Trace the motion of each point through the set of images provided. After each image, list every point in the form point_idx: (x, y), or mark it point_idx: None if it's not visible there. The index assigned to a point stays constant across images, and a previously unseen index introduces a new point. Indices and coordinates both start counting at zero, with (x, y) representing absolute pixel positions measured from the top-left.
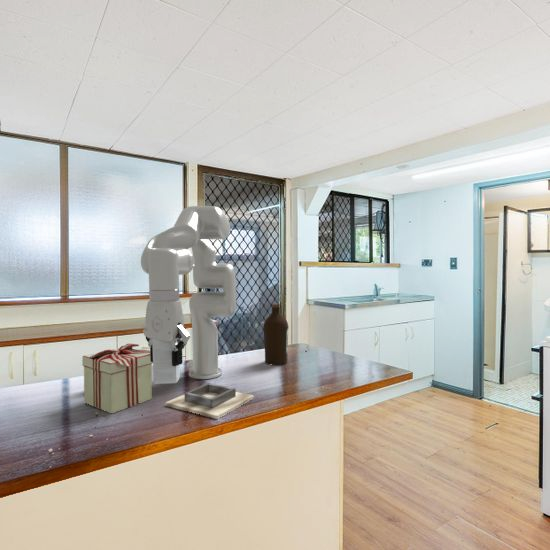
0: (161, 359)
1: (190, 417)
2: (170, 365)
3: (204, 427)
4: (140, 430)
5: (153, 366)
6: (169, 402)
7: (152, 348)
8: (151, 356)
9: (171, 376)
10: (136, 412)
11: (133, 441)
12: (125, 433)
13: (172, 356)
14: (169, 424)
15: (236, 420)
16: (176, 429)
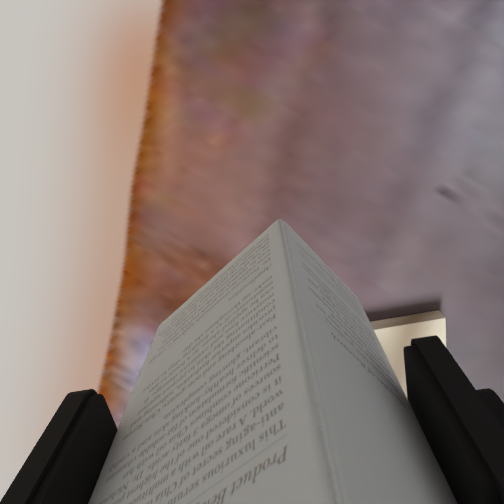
0: (211, 386)
1: None
2: (154, 393)
3: (127, 289)
4: (304, 97)
5: (289, 279)
6: (428, 328)
7: (482, 489)
8: (440, 377)
9: (172, 332)
10: (496, 189)
11: (224, 10)
12: (332, 28)
13: (30, 480)
14: (257, 217)
15: (98, 390)
16: (191, 209)
